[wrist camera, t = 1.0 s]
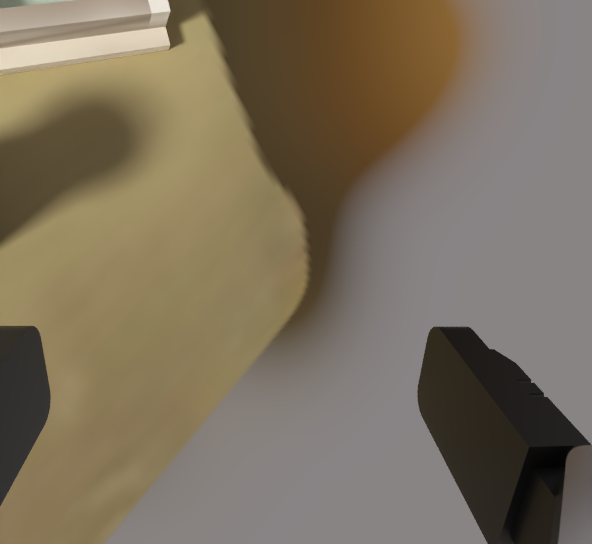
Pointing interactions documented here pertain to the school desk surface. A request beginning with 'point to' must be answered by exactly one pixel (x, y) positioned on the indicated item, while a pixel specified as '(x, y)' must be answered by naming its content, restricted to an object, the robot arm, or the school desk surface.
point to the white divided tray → (78, 31)
